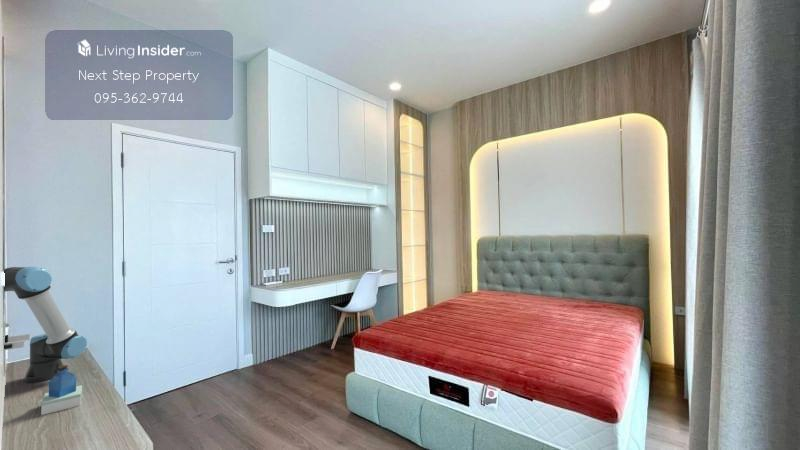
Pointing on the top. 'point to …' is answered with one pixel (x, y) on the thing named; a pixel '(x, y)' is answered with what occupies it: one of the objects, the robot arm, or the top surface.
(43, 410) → the mint green square block
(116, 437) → the top surface
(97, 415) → the top surface
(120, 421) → the top surface
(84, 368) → the top surface
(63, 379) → the perfume bottle
